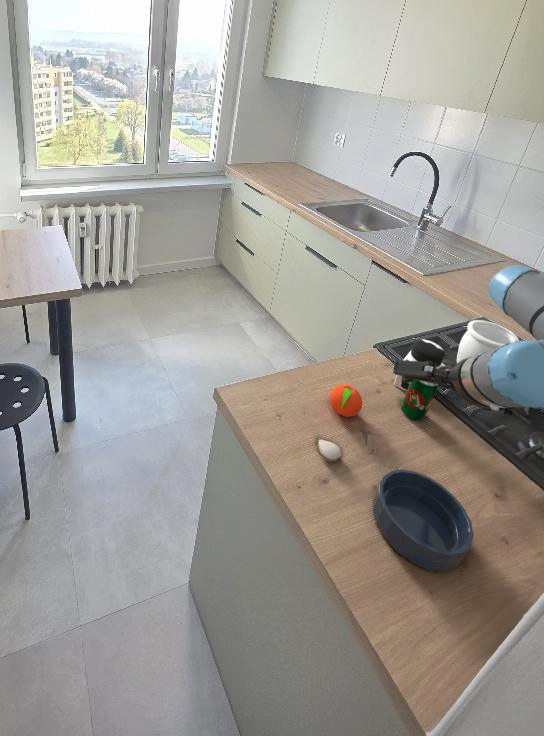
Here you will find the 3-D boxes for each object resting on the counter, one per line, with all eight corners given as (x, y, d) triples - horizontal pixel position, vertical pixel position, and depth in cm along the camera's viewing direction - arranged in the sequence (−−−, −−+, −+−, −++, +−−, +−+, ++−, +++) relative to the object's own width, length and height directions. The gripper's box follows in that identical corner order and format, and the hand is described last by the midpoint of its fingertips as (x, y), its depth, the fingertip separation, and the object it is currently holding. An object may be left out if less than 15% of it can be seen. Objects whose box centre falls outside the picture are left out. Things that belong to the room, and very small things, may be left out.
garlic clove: (328, 467, 85) (330, 459, 84) (310, 447, 89) (312, 438, 88) (343, 459, 86) (346, 451, 85) (325, 440, 91) (327, 432, 90)
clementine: (352, 432, 93) (360, 408, 90) (321, 415, 97) (328, 392, 94) (361, 409, 99) (369, 387, 96) (332, 394, 102) (338, 372, 100)
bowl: (455, 510, 78) (465, 491, 76) (468, 592, 66) (480, 572, 64) (372, 476, 83) (379, 457, 81) (371, 545, 72) (379, 526, 69)
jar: (458, 358, 117) (477, 314, 110) (502, 381, 109) (525, 336, 103) (442, 374, 111) (461, 328, 105) (487, 399, 103) (510, 352, 97)
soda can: (417, 405, 101) (432, 366, 96) (429, 422, 96) (445, 383, 91) (396, 403, 101) (410, 365, 96) (406, 421, 96) (422, 382, 91)
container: (426, 403, 101) (443, 362, 96) (392, 384, 106) (407, 344, 101) (436, 387, 106) (453, 347, 101) (404, 370, 111) (418, 331, 106)
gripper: (391, 375, 66) (369, 384, 84) (597, 442, 56) (521, 435, 74) (399, 329, 68) (376, 348, 86) (599, 386, 58) (525, 393, 77)
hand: (443, 388), depth 80 cm, fingers open, 13 cm apart
